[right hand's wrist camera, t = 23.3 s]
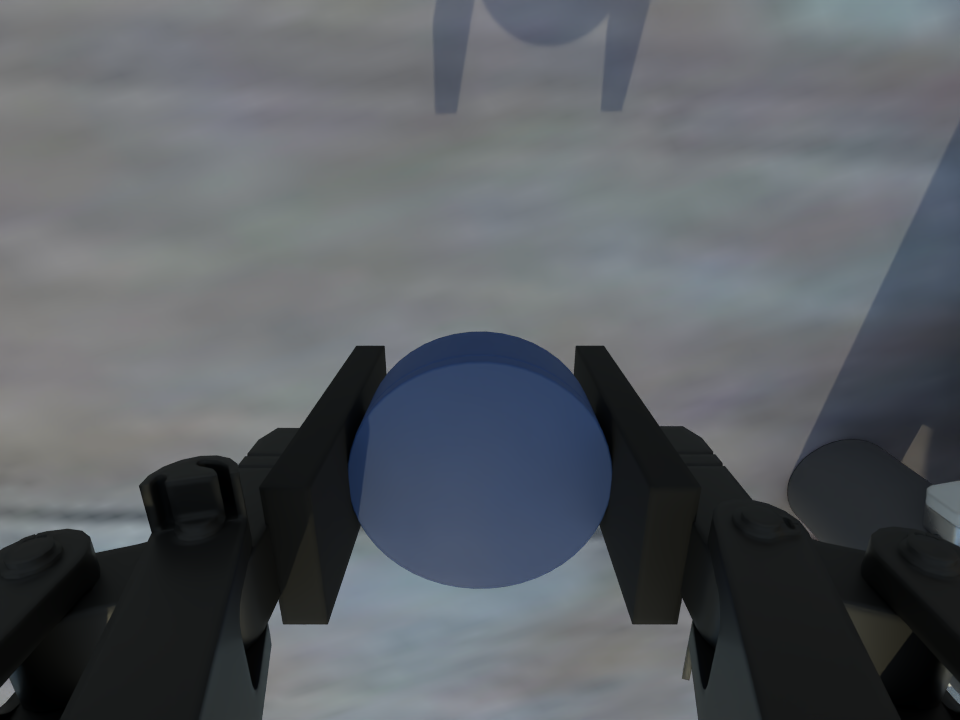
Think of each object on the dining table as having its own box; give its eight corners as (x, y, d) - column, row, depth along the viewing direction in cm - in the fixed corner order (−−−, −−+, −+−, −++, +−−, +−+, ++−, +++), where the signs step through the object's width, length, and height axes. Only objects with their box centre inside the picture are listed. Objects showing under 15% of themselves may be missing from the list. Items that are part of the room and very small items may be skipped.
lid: (509, 563, 13) (514, 624, 11) (327, 467, 12) (300, 518, 10) (640, 408, 12) (669, 452, 10) (442, 283, 11) (434, 306, 9)
